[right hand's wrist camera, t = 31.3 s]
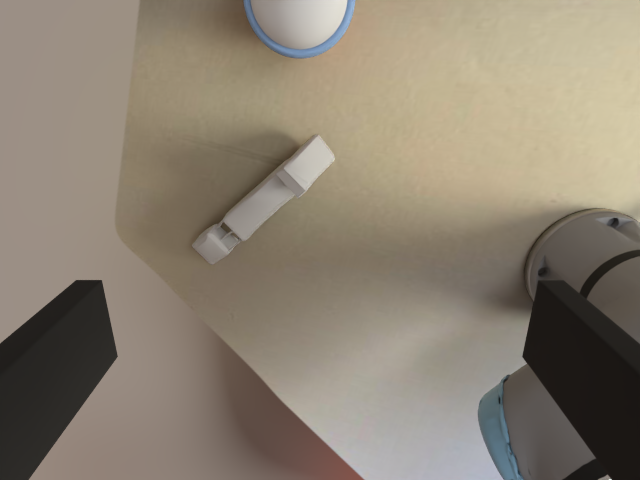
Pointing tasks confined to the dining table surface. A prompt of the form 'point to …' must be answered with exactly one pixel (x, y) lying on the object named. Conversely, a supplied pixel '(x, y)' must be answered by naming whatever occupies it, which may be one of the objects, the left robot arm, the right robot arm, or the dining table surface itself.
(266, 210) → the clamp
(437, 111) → the dining table surface
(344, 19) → the cup with straw
